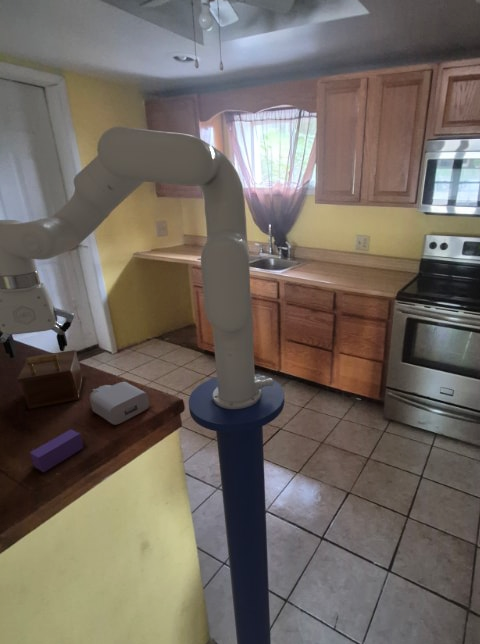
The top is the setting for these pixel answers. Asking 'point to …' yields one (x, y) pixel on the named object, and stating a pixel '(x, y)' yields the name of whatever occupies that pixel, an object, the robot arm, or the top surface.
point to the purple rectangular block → (56, 450)
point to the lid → (47, 365)
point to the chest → (53, 388)
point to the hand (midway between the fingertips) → (39, 352)
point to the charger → (118, 402)
